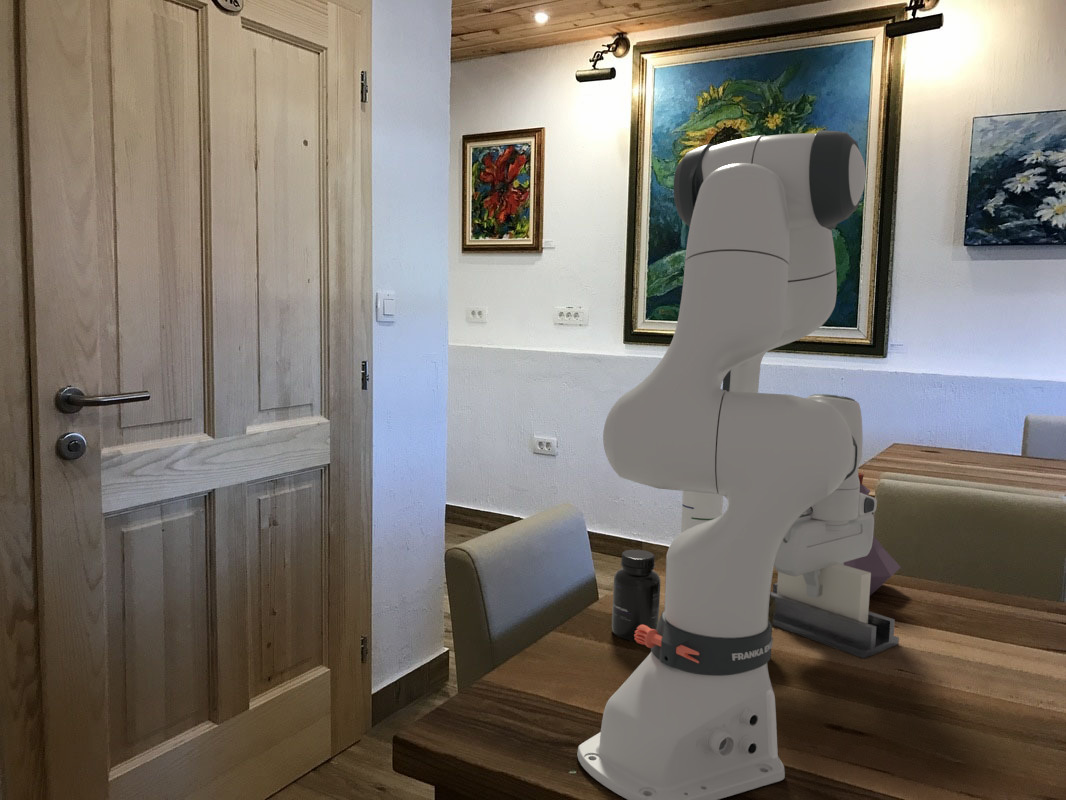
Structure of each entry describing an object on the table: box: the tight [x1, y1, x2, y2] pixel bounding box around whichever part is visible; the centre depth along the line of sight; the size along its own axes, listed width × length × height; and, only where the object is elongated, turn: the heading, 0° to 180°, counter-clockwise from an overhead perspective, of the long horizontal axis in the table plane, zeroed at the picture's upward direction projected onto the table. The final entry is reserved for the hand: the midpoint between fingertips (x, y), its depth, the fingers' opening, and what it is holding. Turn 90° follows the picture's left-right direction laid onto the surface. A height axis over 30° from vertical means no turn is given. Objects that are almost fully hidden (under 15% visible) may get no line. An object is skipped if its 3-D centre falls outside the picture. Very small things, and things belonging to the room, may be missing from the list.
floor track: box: [770, 582, 900, 660], centre depth 129 cm, size 20×9×4 cm, turn 38°
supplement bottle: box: [611, 549, 661, 642], centre depth 126 cm, size 7×7×12 cm
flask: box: [844, 472, 902, 596], centre depth 149 cm, size 16×16×20 cm
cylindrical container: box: [680, 491, 724, 534], centre depth 154 cm, size 7×7×25 cm
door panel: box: [776, 564, 871, 624], centre depth 128 cm, size 14×2×8 cm, turn 38°
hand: (821, 593), depth 129 cm, fingers closed on door panel, 2 cm apart
